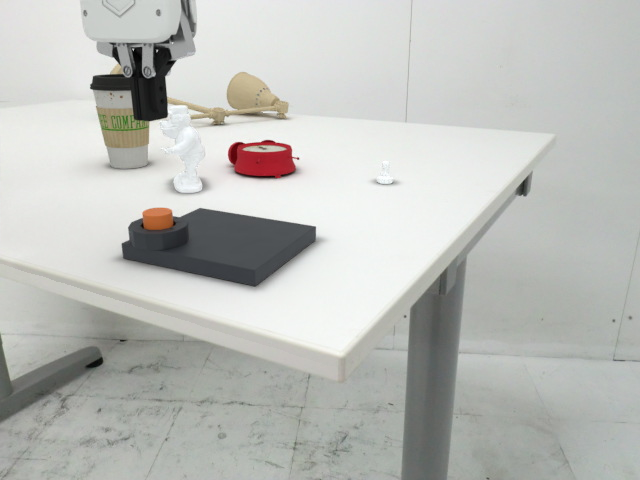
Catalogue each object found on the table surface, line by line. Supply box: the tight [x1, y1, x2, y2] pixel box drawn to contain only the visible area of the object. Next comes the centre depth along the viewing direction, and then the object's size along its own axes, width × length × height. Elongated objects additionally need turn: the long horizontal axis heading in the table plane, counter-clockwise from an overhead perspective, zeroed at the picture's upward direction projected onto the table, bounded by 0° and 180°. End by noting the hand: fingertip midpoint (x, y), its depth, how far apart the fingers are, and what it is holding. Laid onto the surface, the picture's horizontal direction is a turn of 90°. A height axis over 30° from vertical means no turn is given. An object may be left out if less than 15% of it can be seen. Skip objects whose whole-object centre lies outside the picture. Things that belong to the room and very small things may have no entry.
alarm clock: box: [227, 139, 300, 179], centre depth 98 cm, size 10×6×15 cm
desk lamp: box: [109, 62, 290, 126], centre depth 150 cm, size 15×35×40 cm
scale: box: [121, 207, 317, 287], centre depth 62 cm, size 16×14×4 cm
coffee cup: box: [89, 73, 151, 170], centre depth 97 cm, size 10×10×15 cm
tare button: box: [141, 207, 174, 230], centre depth 59 cm, size 3×3×2 cm
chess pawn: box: [376, 160, 394, 185], centre depth 90 cm, size 3×3×4 cm
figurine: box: [158, 105, 206, 194], centre depth 85 cm, size 9×7×12 cm
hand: (151, 118), depth 56 cm, fingers closed
